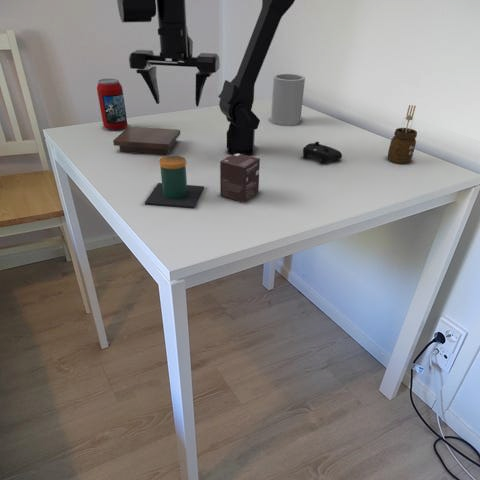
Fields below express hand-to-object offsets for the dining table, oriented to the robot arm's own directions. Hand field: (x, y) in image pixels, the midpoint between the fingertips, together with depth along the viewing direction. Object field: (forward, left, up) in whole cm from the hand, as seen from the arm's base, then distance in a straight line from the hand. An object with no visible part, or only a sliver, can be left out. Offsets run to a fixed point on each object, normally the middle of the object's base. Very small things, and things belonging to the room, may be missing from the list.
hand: (177, 104), depth 97 cm
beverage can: (+24, -20, -12) cm, 34 cm away
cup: (-24, -37, -12) cm, 46 cm away
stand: (+10, -6, -12) cm, 17 cm away
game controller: (-34, -6, -12) cm, 37 cm away
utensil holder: (-54, -9, -12) cm, 56 cm away
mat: (-4, +22, -12) cm, 25 cm away
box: (-17, +19, -12) cm, 28 cm away
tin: (-4, +22, -12) cm, 25 cm away
